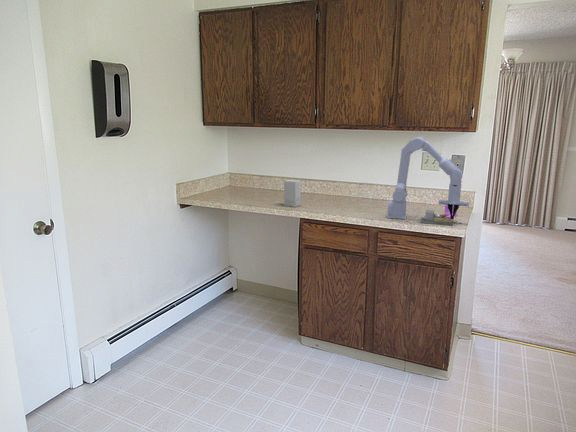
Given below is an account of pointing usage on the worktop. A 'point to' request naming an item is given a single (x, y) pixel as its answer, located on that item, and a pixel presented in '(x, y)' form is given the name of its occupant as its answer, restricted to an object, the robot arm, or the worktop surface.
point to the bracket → (449, 212)
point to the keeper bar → (443, 219)
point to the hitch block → (429, 215)
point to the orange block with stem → (439, 215)
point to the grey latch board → (437, 222)
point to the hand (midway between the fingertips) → (452, 219)
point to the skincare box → (292, 193)
